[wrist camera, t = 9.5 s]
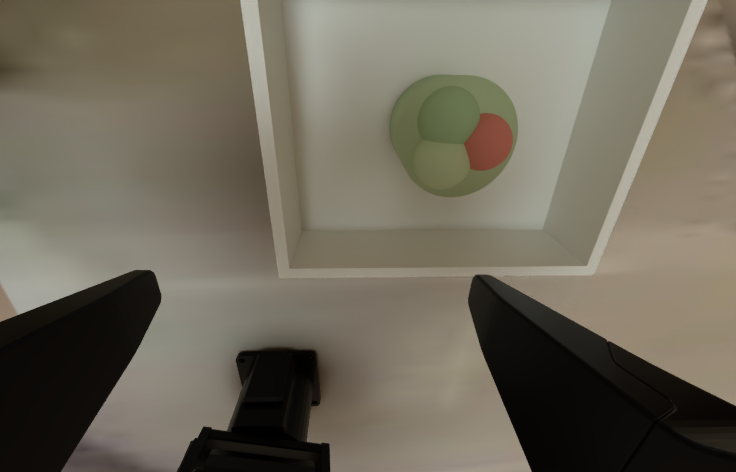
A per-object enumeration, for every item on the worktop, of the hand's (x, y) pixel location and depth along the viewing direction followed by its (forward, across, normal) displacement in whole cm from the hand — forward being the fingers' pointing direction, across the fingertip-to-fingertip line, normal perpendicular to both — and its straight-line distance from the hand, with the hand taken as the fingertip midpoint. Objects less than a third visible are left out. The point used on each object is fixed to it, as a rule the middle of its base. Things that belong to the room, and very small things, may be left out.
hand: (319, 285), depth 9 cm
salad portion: (+11, -6, -3) cm, 13 cm away
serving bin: (+12, -6, -3) cm, 13 cm away
